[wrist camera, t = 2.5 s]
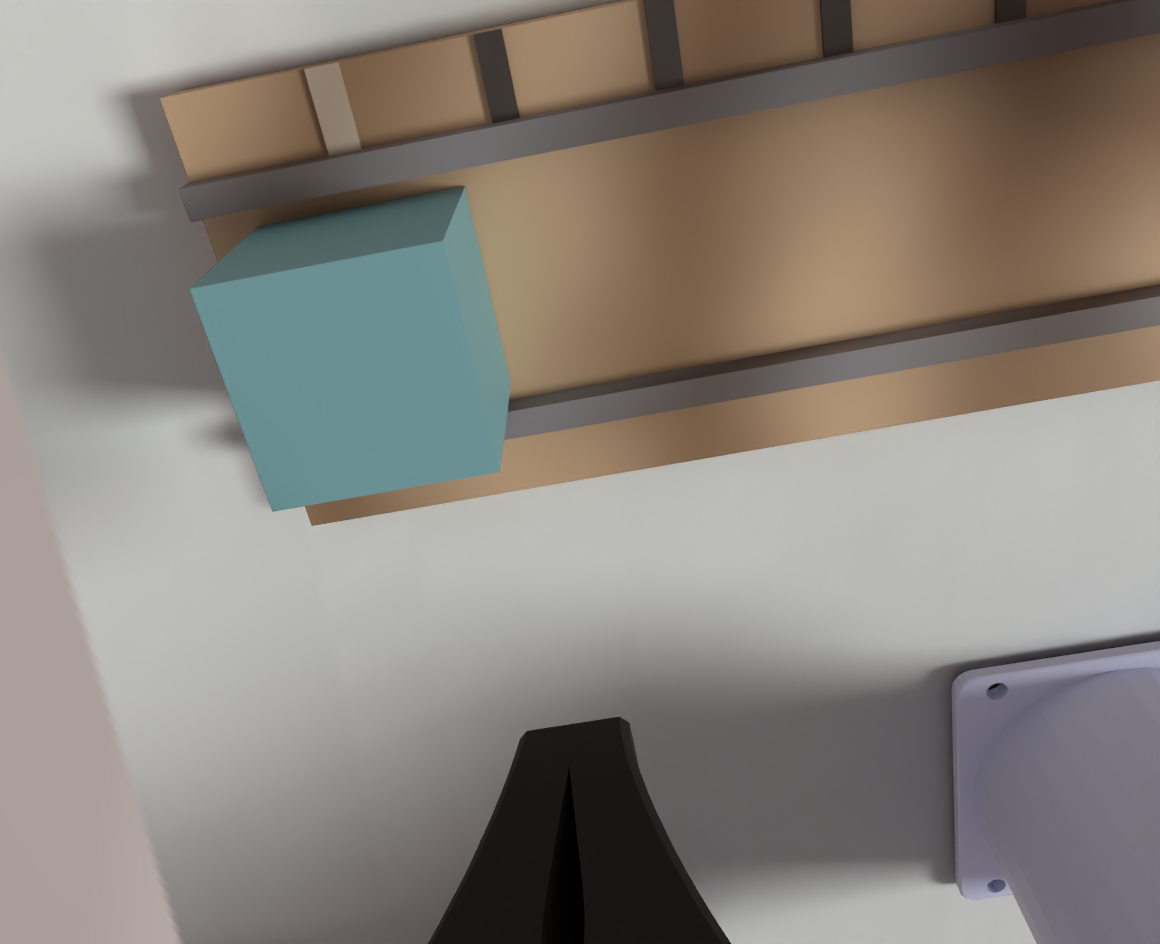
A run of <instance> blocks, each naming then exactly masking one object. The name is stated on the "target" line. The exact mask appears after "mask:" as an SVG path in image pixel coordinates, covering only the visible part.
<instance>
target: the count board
mask: <svg viewBox="0 0 1160 944" xmlns="http://www.w3.org/2000/svg"><path fill="white" fill-rule="evenodd" d="M160 100H161V103H162V106H163V109H164V112H165V114H166V117H167V120H168V123H169V126H170V128H171V131H172V134H173V137H174V140H175V142H176V145H177V148H178V151H179V154H180V157H181V159H182V162H183V165H184V168H185V171H186V173H187V176H188V179H189V182H190V183H188V184H186V185H185V186H183V187H182V188H180V189H179V191H180V194H181V197H182V199H183V202H184V205H185V208H186V210H187V213H188V216H189V219H190V221H191V222H193V221H198V220H203V221H204V224H205V227H206V230H207V232H208V235H209V238H210V241H211V244H212V246H213V249H214V252H215V255H216V258H217V261H218V262H219V261H221V260H222V259H223V258H224V257H225V256H226V255H227V254H228V253H229V252H230V251H232V250H233V249H234V248H235V247H236V246H237V245H238V244H239V243H240V242H241V241H243V240H244V239H245V238H246V237H247V236H248V235H249V234H250V233H251V232H252V231H253V230H255V229H256V228H257V227H258V226H261V225H266V224H271V223H276V222H282V221H287V220H292V219H297V218H302V217H307V216H313V215H318V214H323V213H328V212H333V211H338V210H344V209H349V208H354V207H359V206H364V205H369V204H375V203H380V202H385V201H390V200H395V199H400V198H406V197H411V196H416V195H421V194H426V193H431V192H436V191H442V190H447V189H452V188H457V187H462V186H465V187H466V192H467V196H468V200H469V205H470V209H471V213H472V217H473V222H474V226H475V230H476V235H477V239H478V243H479V247H480V252H481V256H482V260H483V265H484V269H485V273H486V277H487V282H488V286H489V290H490V295H491V299H492V303H493V307H494V312H495V316H496V320H497V325H498V329H499V333H500V337H501V342H502V346H503V350H504V355H505V359H506V363H507V367H508V372H509V376H510V380H511V386H510V395H509V404H508V412H507V421H506V429H505V438H504V446H503V455H502V463H501V472H498V473H493V474H487V475H481V476H475V477H470V478H464V479H458V480H452V481H447V482H441V483H435V484H429V485H423V486H418V487H412V488H406V489H400V490H395V491H389V492H383V493H377V494H371V495H366V496H360V497H354V498H348V499H343V500H337V501H331V502H325V503H319V504H314V505H308V506H305V508H306V511H307V514H308V516H309V519H310V522H311V525H312V526H314V525H320V524H326V523H331V522H337V521H343V520H349V519H355V518H360V517H366V516H372V515H378V514H384V513H390V512H395V511H401V510H407V509H413V508H419V507H425V506H430V505H436V504H442V503H448V502H454V501H459V500H465V499H471V498H477V497H483V496H489V495H494V494H500V493H506V492H512V491H518V490H524V489H529V488H535V487H541V486H547V485H553V484H558V483H564V482H570V481H576V480H582V479H588V478H593V477H599V476H605V475H611V474H617V473H623V472H628V471H634V470H640V469H646V468H652V467H657V466H663V465H669V464H675V463H681V462H687V461H692V460H698V459H704V458H710V457H716V456H722V455H727V454H733V453H739V452H745V451H751V450H756V449H762V448H768V447H774V446H780V445H786V444H791V443H797V442H803V441H809V440H815V439H821V438H826V437H832V436H838V435H844V434H850V433H855V432H861V431H867V430H873V429H879V428H885V427H890V426H896V425H902V424H908V423H914V422H920V421H925V420H931V419H937V418H943V417H949V416H954V415H960V414H966V413H972V412H978V411H984V410H989V409H995V408H1001V407H1007V406H1013V405H1019V404H1024V403H1030V402H1036V401H1042V400H1048V399H1054V398H1059V397H1065V396H1071V395H1077V394H1083V393H1088V392H1094V391H1100V390H1106V389H1112V388H1118V387H1123V386H1129V385H1135V384H1141V383H1147V382H1153V381H1158V380H1160V0H623V1H618V2H613V3H608V4H603V5H598V6H593V7H588V8H584V9H579V10H574V11H569V12H564V13H559V14H554V15H549V16H544V17H540V18H535V19H530V20H525V21H520V22H515V23H510V24H505V25H500V26H495V27H491V28H486V29H481V30H476V31H471V32H466V33H461V34H456V35H451V36H447V37H442V38H437V39H432V40H427V41H422V42H417V43H412V44H407V45H403V46H398V47H393V48H388V49H383V50H378V51H373V52H368V53H363V54H359V55H354V56H349V57H344V58H339V59H334V60H329V61H324V62H319V63H315V64H310V65H305V66H300V67H295V68H290V69H285V70H280V71H275V72H271V73H266V74H261V75H256V76H251V77H246V78H241V79H236V80H231V81H227V82H222V83H217V84H212V85H207V86H202V87H197V88H192V89H187V90H182V91H178V92H175V93H173V94H170V95H167V96H165V97H162V98H160Z"/></svg>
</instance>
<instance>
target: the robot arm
mask: <svg viewBox="0 0 1160 944" xmlns="http://www.w3.org/2000/svg"><path fill="white" fill-rule="evenodd" d="M996 683H1001V684H1000V685H999V686H998V687H997V688H994V689H991V690H990V689H988V688H989V687H990V686H991V685H993V684H996ZM952 731H953V778H954V824H955V871H956V883H957V886H958V889H959V891H960V893H961V895H962V896H964V897H965V898H968V899H972V900H979V899H986V898H993V897H1000V896H1008V895H1014V897H1015V899H1016V901H1017V903H1018V905H1019V908H1020V910H1021V912H1022V914H1023V916H1024V918H1025V920H1026V922H1027V924H1028V926H1029V928H1030V931H1031V933H1032V935H1033V937H1034V939H1035V941H1036V943H1037V944H1160V641H1156V642H1149V643H1143V644H1136V645H1130V646H1123V647H1117V648H1110V649H1104V650H1097V651H1091V652H1084V653H1078V654H1072V655H1065V656H1059V657H1052V658H1046V659H1039V660H1033V661H1026V662H1020V663H1013V664H1007V665H1000V666H994V667H987V668H981V669H974V670H970V671H966V672H964V673H962V674H961V675H959V676H958V677H957V678H956V679H955V680H954V682H953V685H952ZM428 944H731V943H730V941H729V940H728V938H727V937H726V935H725V934H724V932H723V931H722V929H721V928H720V926H719V925H718V923H717V921H716V920H715V918H714V917H713V915H712V914H711V912H710V910H709V909H708V907H707V905H706V904H705V902H704V901H703V899H702V897H701V896H700V894H699V892H698V891H697V889H696V887H695V885H694V884H693V882H692V880H691V878H690V877H689V875H688V873H687V871H686V870H685V868H684V866H683V864H682V862H681V861H680V859H679V857H678V855H677V853H676V851H675V849H674V847H673V845H672V843H671V841H670V839H669V837H668V835H667V833H666V831H665V829H664V827H663V825H662V823H661V821H660V818H659V816H658V814H657V812H656V810H655V808H654V806H653V803H652V801H651V799H650V796H649V794H648V792H647V789H646V786H645V784H644V781H643V778H642V776H641V773H640V770H639V766H638V762H637V757H636V752H635V747H634V743H633V738H632V733H631V728H630V724H629V722H627V721H626V720H624V719H622V718H621V717H615V718H608V719H602V720H596V721H589V722H583V723H576V724H570V725H563V726H557V727H550V728H544V729H537V730H531V731H527V732H526V733H525V734H524V735H523V736H522V737H521V739H520V741H519V744H518V748H517V751H516V754H515V757H514V760H513V763H512V766H511V768H510V771H509V774H508V777H507V779H506V782H505V785H504V787H503V790H502V792H501V795H500V797H499V800H498V802H497V805H496V807H495V810H494V812H493V815H492V817H491V819H490V821H489V824H488V826H487V828H486V830H485V833H484V835H483V837H482V839H481V841H480V844H479V846H478V848H477V850H476V852H475V855H474V857H473V859H472V861H471V863H470V865H469V868H468V870H467V872H466V874H465V876H464V878H463V879H462V881H461V883H460V885H459V887H458V889H457V891H456V893H455V895H454V897H453V899H452V900H451V902H450V904H449V906H448V908H447V910H446V912H445V914H444V916H443V918H442V920H441V921H440V923H439V925H438V927H437V929H436V931H435V932H434V934H433V936H432V937H431V939H430V941H429V943H428Z"/></svg>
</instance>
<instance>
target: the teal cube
mask: <svg viewBox="0 0 1160 944" xmlns="http://www.w3.org/2000/svg"><path fill="white" fill-rule="evenodd" d="M189 290H190V292H191V295H192V298H193V300H194V303H195V306H196V308H197V311H198V314H199V316H200V319H201V322H202V324H203V327H204V330H205V332H206V335H207V338H208V341H209V343H210V346H211V349H212V351H213V354H214V357H215V359H216V362H217V365H218V367H219V370H220V373H221V375H222V378H223V381H224V383H225V386H226V389H227V391H228V394H229V397H230V399H231V402H232V405H233V407H234V410H235V413H236V415H237V418H238V421H239V424H240V426H241V429H242V432H243V434H244V437H245V440H246V442H247V445H248V448H249V450H250V453H251V456H252V458H253V461H254V464H255V466H256V469H257V472H258V474H259V477H260V480H261V482H262V485H263V488H264V490H265V493H266V496H267V498H268V501H269V504H270V506H271V509H272V512H273V511H279V510H285V509H291V508H296V507H302V506H308V505H314V504H319V503H325V502H331V501H337V500H343V499H348V498H354V497H360V496H366V495H371V494H377V493H383V492H389V491H395V490H400V489H406V488H412V487H418V486H423V485H429V484H435V483H441V482H447V481H452V480H458V479H464V478H470V477H475V476H481V475H487V474H493V473H498V472H501V463H502V455H503V446H504V438H505V429H506V421H507V412H508V404H509V395H510V386H511V380H510V376H509V372H508V367H507V363H506V359H505V355H504V350H503V346H502V342H501V337H500V333H499V329H498V325H497V320H496V316H495V312H494V307H493V303H492V299H491V295H490V290H489V286H488V282H487V277H486V273H485V269H484V265H483V260H482V256H481V252H480V247H479V243H478V239H477V235H476V230H475V226H474V222H473V217H472V213H471V209H470V205H469V200H468V196H467V192H466V187H465V186H462V187H457V188H452V189H447V190H442V191H436V192H431V193H426V194H421V195H416V196H411V197H406V198H400V199H395V200H390V201H385V202H380V203H375V204H369V205H364V206H359V207H354V208H349V209H344V210H338V211H333V212H328V213H323V214H318V215H313V216H307V217H302V218H297V219H292V220H287V221H282V222H276V223H271V224H266V225H261V226H258V227H257V228H256V229H255V230H253V231H252V232H251V233H250V234H249V235H248V236H247V237H246V238H245V239H244V240H243V241H241V242H240V243H239V244H238V245H237V246H236V247H235V248H234V249H233V250H232V251H230V252H229V253H228V254H227V255H226V256H225V257H224V258H223V259H222V260H221V261H219V262H218V263H217V264H216V265H215V266H214V267H213V268H212V269H211V270H210V271H209V272H207V273H206V274H205V275H204V276H203V277H202V278H201V279H200V280H199V281H198V282H196V283H195V284H194V285H193V286H192V287H191V288H190V289H189Z"/></svg>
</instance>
